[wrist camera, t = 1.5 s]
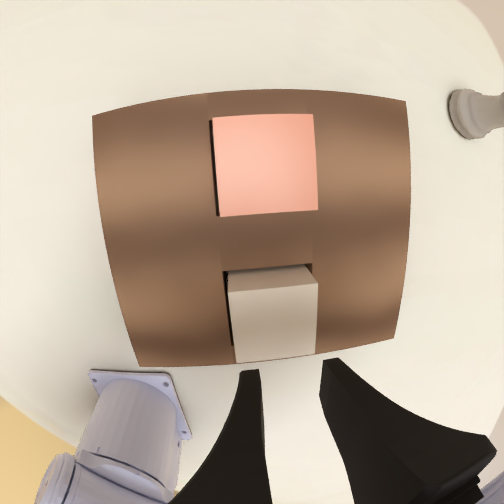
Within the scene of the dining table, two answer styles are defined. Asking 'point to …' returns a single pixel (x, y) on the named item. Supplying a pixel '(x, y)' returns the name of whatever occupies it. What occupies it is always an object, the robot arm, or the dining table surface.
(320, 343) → the key panel
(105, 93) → the dining table surface
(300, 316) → the ivory key
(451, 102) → the rook chess piece
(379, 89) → the dining table surface
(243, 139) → the terracotta key
